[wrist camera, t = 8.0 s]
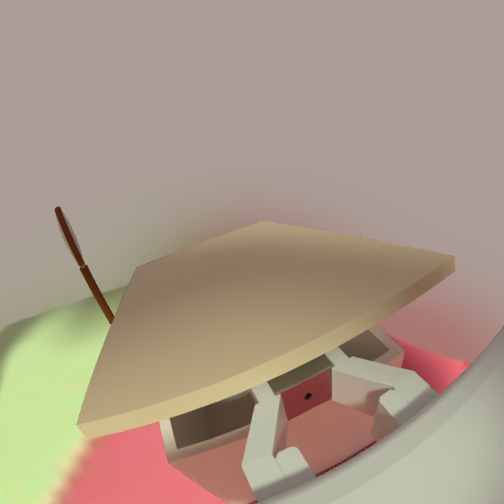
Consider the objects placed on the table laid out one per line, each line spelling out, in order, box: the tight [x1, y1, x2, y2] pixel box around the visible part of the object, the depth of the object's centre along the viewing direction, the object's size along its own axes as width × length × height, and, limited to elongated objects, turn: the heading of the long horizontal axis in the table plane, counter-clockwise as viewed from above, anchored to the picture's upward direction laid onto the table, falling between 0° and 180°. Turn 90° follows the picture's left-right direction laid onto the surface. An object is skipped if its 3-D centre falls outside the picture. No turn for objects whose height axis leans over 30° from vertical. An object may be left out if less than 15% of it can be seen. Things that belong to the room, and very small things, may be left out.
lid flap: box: [76, 221, 455, 439], centre depth 18 cm, size 14×22×1 cm, turn 21°
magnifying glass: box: [55, 207, 114, 324], centre depth 36 cm, size 9×2×20 cm, turn 40°
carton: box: [159, 325, 405, 504], centre depth 23 cm, size 13×20×12 cm, turn 21°
